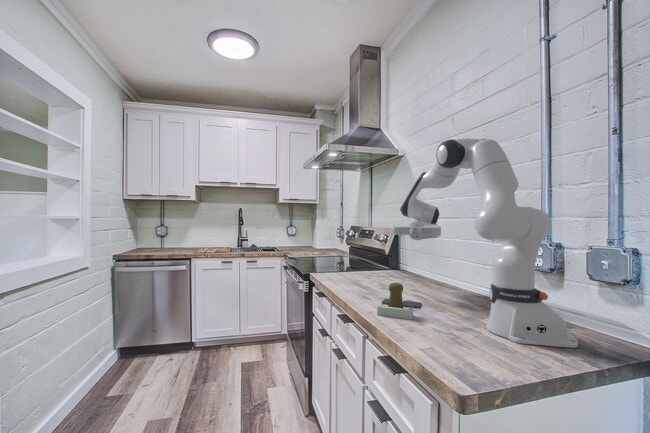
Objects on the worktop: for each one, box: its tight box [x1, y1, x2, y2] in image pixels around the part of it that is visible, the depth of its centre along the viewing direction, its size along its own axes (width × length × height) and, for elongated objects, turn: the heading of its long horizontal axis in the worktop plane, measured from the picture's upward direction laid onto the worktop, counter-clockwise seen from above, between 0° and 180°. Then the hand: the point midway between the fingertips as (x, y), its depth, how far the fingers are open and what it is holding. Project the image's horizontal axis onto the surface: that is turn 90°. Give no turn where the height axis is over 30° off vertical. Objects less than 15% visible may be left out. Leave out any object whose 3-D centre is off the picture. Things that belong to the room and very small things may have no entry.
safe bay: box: [376, 302, 414, 321], centre depth 105 cm, size 12×4×3 cm, turn 67°
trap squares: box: [381, 298, 422, 309], centre depth 119 cm, size 15×7×1 cm, turn 67°
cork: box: [387, 282, 404, 309], centre depth 108 cm, size 6×6×11 cm
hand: (415, 231), depth 123 cm, fingers closed
